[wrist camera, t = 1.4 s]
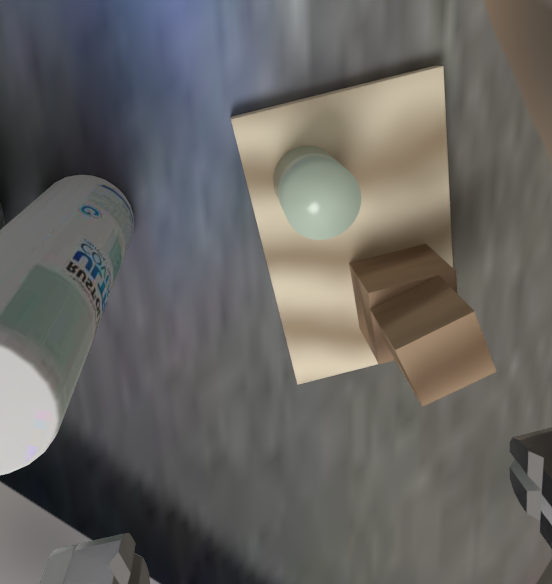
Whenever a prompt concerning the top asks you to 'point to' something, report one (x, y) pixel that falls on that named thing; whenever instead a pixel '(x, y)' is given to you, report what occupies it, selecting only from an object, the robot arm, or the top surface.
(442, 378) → the top block
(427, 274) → the base block
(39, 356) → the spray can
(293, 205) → the canister
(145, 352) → the top surface
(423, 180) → the board
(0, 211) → the mortar and pestle
